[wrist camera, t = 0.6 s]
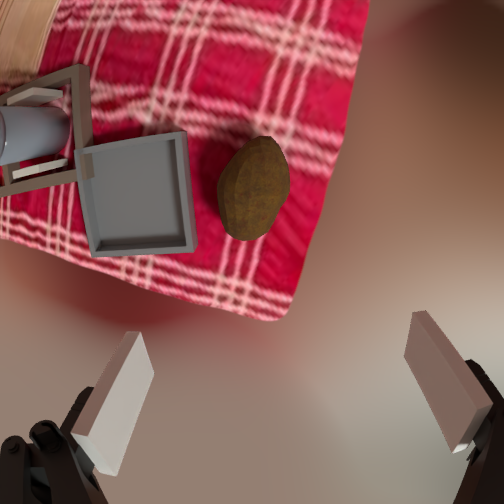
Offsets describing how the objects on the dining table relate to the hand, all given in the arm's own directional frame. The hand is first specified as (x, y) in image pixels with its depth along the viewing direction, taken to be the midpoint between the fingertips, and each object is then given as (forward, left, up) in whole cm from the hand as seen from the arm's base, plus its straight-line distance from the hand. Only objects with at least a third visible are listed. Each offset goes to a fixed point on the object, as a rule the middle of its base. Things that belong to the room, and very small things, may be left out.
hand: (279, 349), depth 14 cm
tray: (-3, -17, -28) cm, 32 cm away
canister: (-14, -30, -28) cm, 43 cm away
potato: (-3, -2, -28) cm, 28 cm away
